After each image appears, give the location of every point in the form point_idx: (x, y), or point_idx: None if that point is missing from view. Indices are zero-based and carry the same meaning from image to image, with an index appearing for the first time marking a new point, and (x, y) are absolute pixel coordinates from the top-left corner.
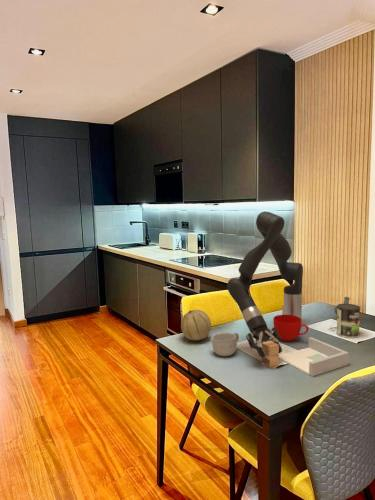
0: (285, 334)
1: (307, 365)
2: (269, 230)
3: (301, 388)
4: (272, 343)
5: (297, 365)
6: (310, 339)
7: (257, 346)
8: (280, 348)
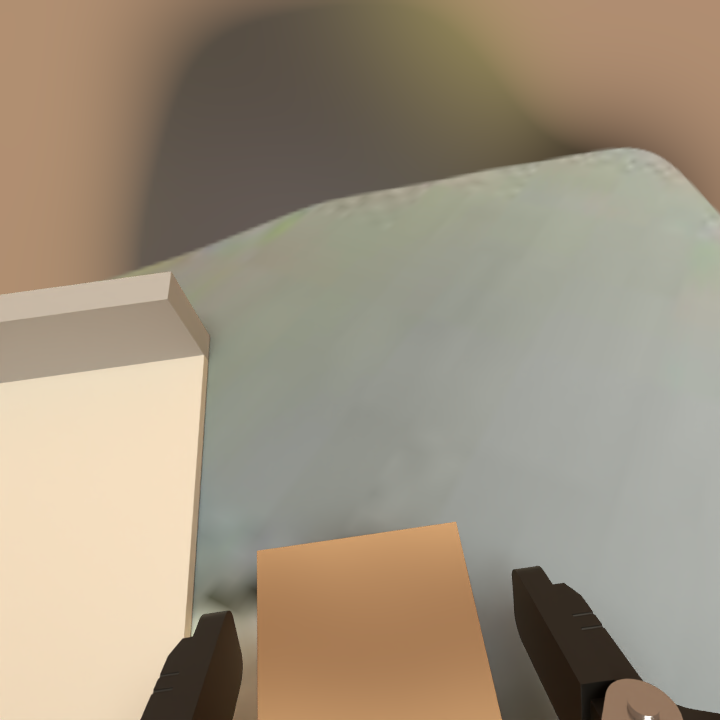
0: None
1: (100, 462)
2: None
3: (377, 254)
4: (324, 664)
5: (170, 497)
6: None
7: (670, 712)
8: (198, 639)
